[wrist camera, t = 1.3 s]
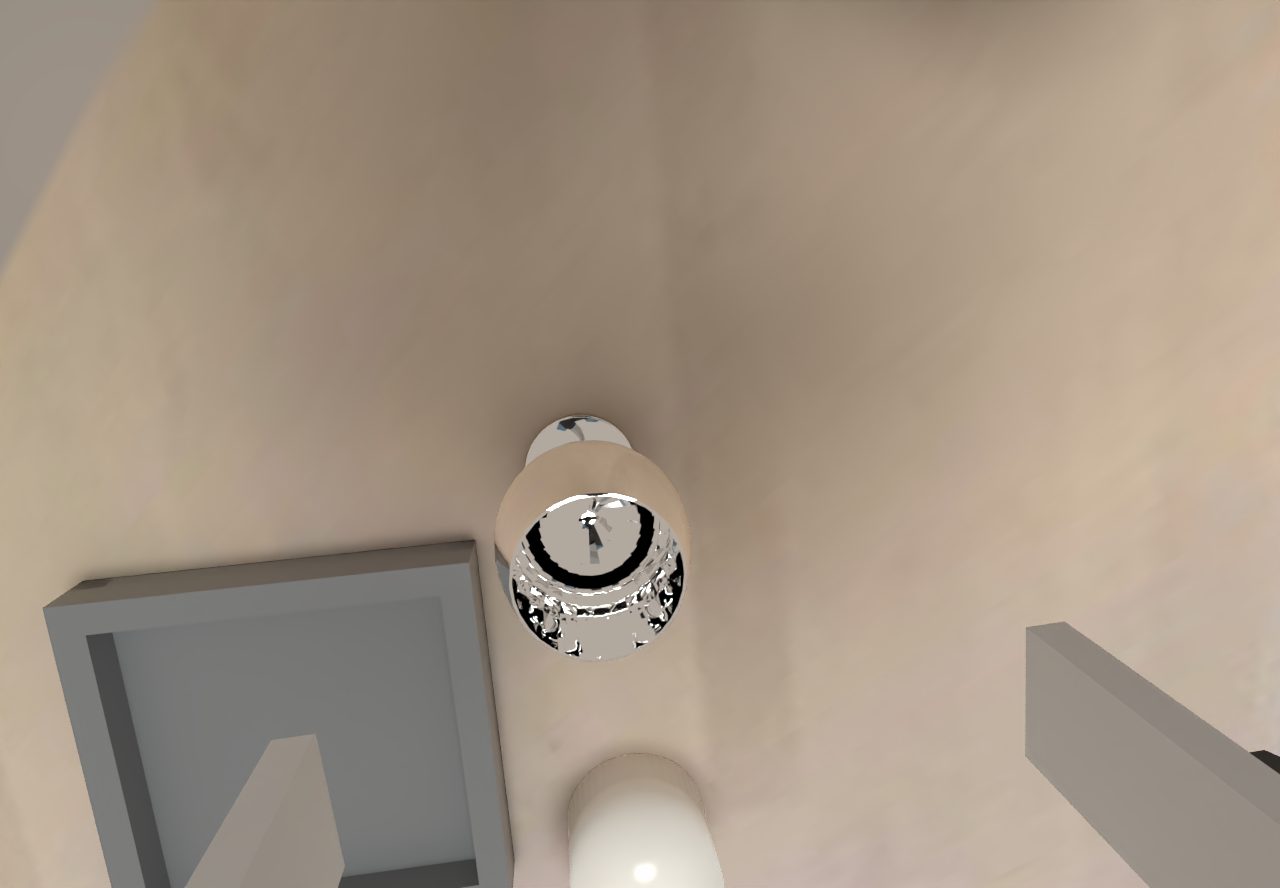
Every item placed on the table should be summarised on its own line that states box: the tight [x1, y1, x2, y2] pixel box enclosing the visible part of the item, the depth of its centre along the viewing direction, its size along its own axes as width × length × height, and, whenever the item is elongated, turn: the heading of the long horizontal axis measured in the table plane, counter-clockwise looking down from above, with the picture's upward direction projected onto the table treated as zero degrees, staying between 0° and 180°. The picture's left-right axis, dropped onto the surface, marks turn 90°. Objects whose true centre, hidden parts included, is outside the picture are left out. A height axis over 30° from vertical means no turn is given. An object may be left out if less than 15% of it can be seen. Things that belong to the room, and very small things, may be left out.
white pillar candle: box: [568, 753, 724, 888], centre depth 34 cm, size 6×6×5 cm
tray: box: [43, 540, 515, 888], centre depth 33 cm, size 15×15×3 cm
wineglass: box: [494, 415, 691, 661], centre depth 27 cm, size 6×6×12 cm
